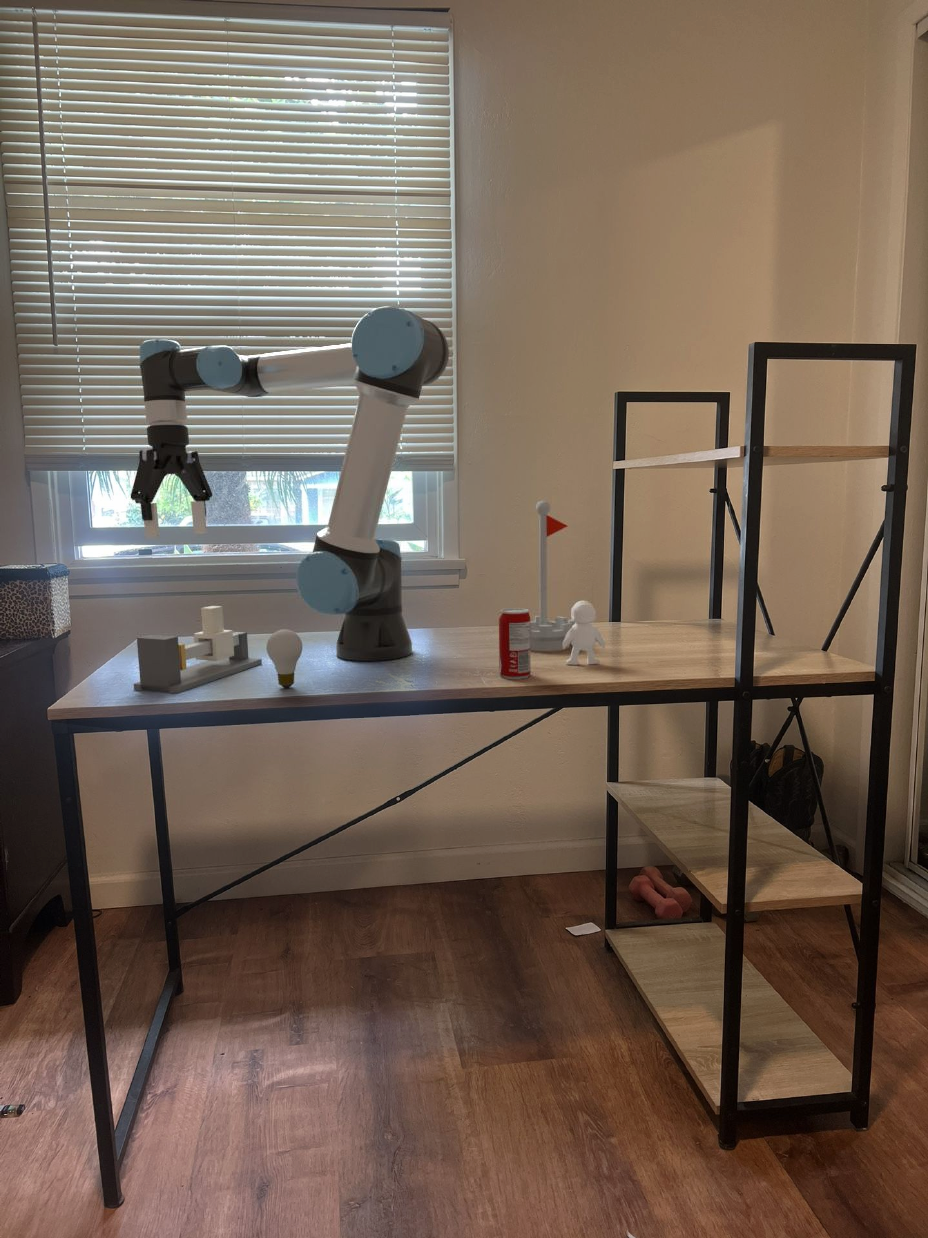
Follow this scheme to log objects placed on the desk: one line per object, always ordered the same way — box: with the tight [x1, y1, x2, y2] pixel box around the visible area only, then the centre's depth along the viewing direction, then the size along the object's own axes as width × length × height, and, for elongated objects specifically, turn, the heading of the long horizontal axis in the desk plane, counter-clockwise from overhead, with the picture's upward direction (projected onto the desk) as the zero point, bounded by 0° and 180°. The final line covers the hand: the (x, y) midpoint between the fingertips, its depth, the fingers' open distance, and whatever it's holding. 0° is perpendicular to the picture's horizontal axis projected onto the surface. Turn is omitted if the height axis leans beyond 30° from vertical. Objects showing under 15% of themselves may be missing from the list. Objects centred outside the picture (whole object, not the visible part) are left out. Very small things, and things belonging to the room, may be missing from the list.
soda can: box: [498, 607, 531, 680], centre depth 146 cm, size 6×6×12 cm
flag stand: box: [530, 500, 576, 652], centre depth 172 cm, size 13×13×30 cm
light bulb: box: [266, 628, 303, 689], centre depth 141 cm, size 6×6×10 cm
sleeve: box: [193, 605, 234, 661], centre depth 154 cm, size 5×5×9 cm
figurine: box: [562, 600, 606, 666], centre depth 155 cm, size 8×5×12 cm, turn 93°
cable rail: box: [133, 631, 263, 694], centre depth 151 cm, size 9×24×9 cm, turn 158°
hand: (177, 536), depth 164 cm, fingers open, 13 cm apart
